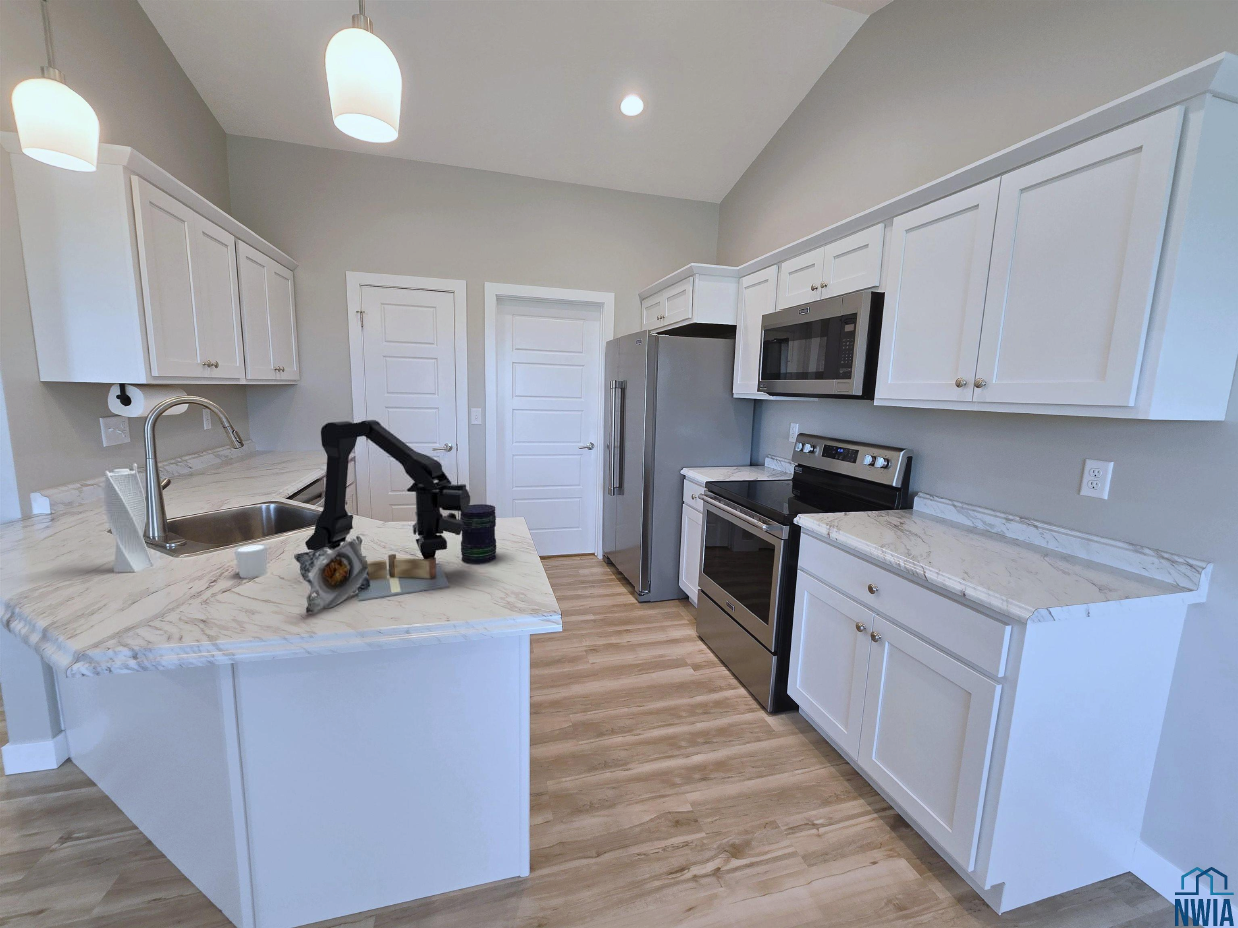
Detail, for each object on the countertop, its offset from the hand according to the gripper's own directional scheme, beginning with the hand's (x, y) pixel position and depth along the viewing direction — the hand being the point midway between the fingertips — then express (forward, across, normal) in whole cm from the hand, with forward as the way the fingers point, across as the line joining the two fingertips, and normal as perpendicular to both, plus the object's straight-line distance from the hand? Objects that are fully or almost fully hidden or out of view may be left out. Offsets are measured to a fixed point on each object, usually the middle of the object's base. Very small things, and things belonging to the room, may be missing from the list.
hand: (430, 567), depth 131 cm
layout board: (+2, -1, +7) cm, 7 cm away
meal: (+2, -8, +21) cm, 23 cm away
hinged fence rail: (+2, -1, +4) cm, 5 cm away
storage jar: (+2, +8, -14) cm, 16 cm away
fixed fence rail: (+2, +2, +13) cm, 14 cm away
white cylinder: (+3, +20, +41) cm, 45 cm away
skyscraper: (+3, +37, +69) cm, 78 cm away
